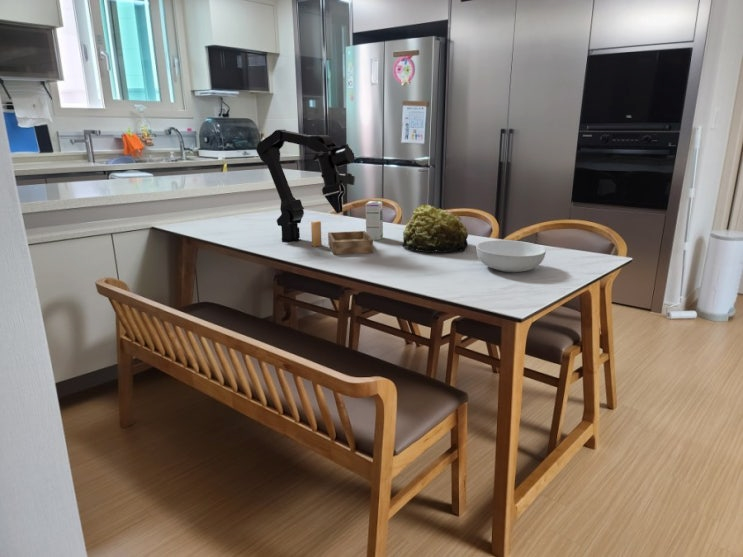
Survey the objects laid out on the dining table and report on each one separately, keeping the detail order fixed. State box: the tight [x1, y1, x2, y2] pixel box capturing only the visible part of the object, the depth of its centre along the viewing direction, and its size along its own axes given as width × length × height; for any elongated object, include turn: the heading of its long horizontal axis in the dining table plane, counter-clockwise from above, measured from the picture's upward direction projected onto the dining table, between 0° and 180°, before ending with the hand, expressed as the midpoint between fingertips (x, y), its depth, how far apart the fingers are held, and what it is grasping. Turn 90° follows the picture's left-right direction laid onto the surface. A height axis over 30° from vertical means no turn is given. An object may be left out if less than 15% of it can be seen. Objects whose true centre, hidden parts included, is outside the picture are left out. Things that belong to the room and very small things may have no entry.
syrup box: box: [365, 200, 384, 241], centre depth 201 cm, size 6×6×14 cm
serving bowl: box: [475, 239, 547, 273], centre depth 159 cm, size 21×21×7 cm
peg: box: [310, 220, 323, 247], centre depth 191 cm, size 4×4×9 cm
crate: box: [327, 230, 374, 255], centre depth 187 cm, size 14×17×4 cm
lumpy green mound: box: [402, 204, 469, 254], centre depth 187 cm, size 25×24×16 cm
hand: (339, 212), depth 187 cm, fingers open, 9 cm apart
